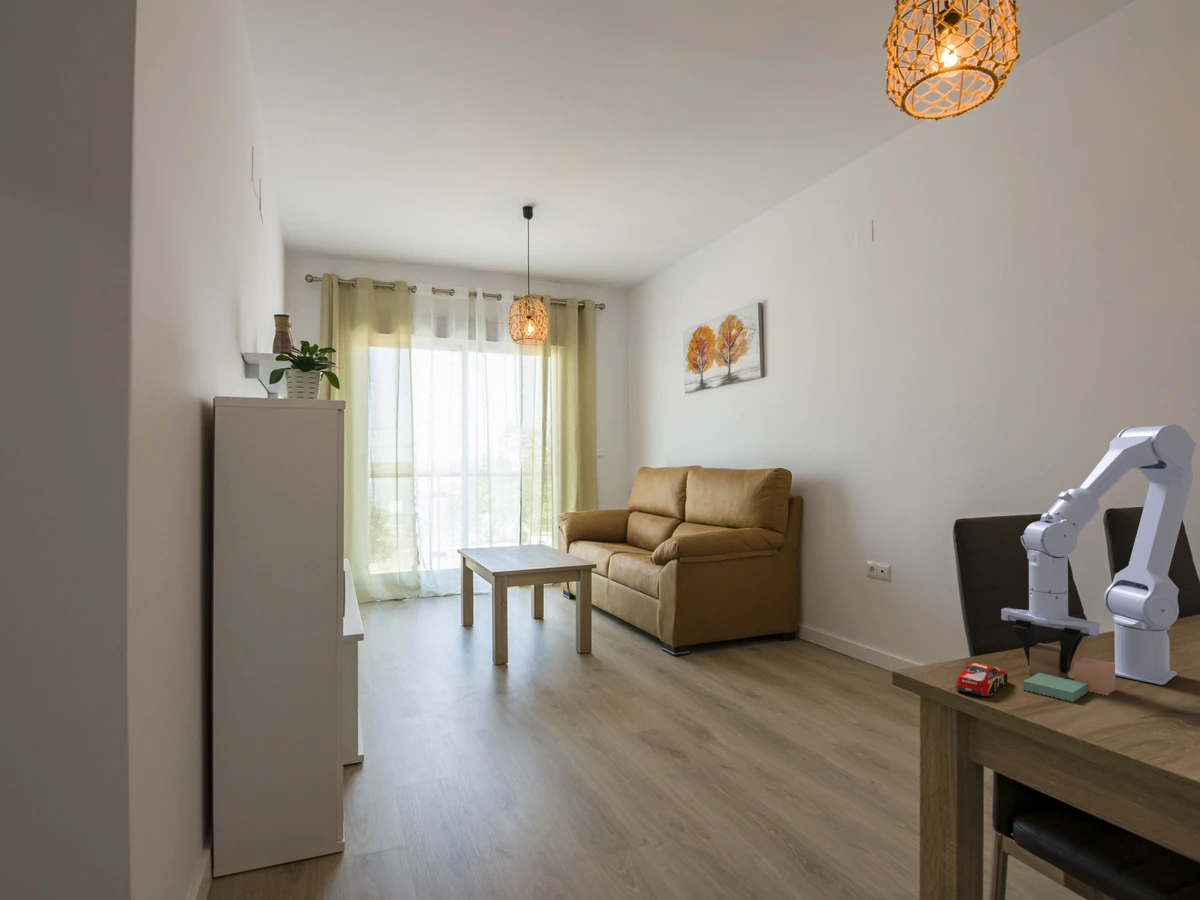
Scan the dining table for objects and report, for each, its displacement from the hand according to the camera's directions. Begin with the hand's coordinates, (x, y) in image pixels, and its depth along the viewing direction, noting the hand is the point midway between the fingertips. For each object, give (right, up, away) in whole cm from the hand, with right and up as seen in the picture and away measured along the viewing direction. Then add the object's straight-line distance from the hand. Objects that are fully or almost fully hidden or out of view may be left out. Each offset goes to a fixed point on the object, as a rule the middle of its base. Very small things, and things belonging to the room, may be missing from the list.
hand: (1048, 668), depth 119 cm
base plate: (-4, -1, -8) cm, 9 cm away
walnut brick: (0, -1, 0) cm, 1 cm away
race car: (-15, -2, -5) cm, 16 cm away
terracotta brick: (+3, -2, -7) cm, 8 cm away
